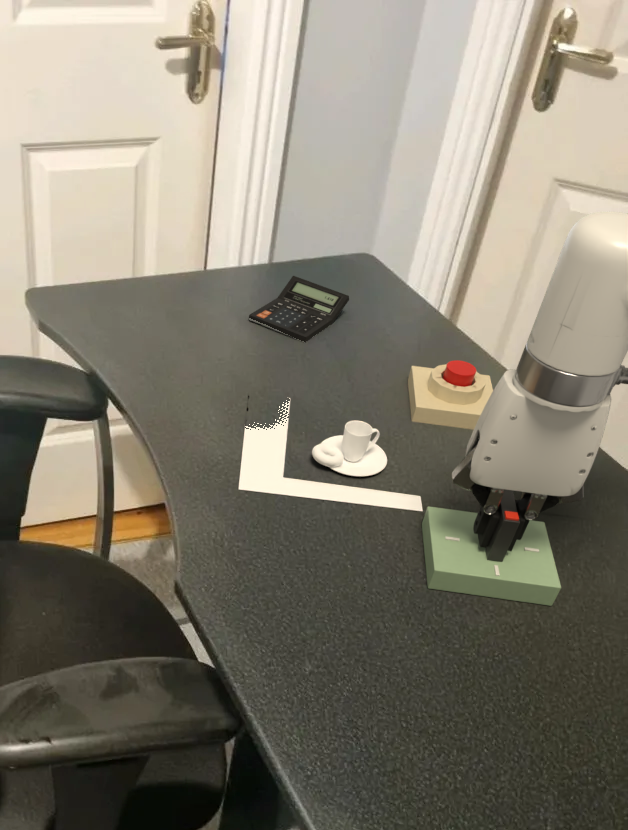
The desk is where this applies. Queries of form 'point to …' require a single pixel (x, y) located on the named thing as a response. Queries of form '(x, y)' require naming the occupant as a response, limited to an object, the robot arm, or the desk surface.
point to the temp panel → (471, 571)
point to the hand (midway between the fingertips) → (493, 539)
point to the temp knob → (504, 528)
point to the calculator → (302, 309)
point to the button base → (446, 398)
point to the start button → (459, 373)
